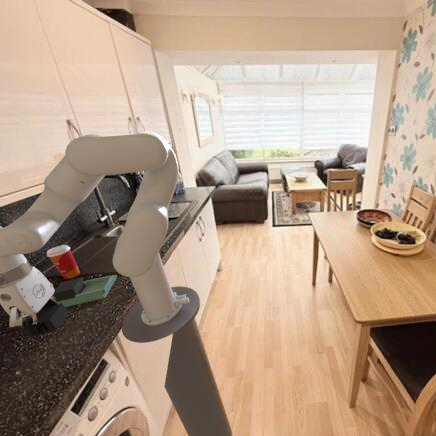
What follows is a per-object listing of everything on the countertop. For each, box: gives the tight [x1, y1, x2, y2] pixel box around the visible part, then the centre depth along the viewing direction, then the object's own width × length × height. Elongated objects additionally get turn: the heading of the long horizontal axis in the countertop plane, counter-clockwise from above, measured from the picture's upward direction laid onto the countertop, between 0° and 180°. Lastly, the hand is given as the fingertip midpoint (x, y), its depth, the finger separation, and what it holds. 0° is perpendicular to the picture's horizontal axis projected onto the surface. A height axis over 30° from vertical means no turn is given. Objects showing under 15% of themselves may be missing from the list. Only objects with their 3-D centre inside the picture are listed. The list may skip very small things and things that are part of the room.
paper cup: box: [46, 244, 81, 280], centre depth 104 cm, size 8×8×14 cm
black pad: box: [20, 303, 70, 339], centre depth 67 cm, size 6×6×4 cm
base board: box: [54, 274, 118, 308], centre depth 95 cm, size 19×14×5 cm
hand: (48, 322), depth 67 cm, fingers closed on black pad, 6 cm apart
